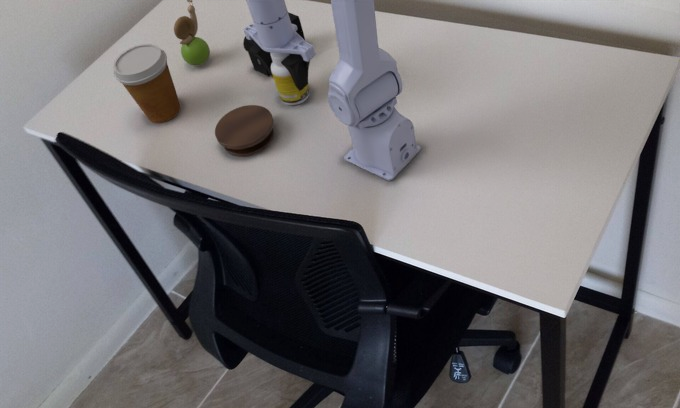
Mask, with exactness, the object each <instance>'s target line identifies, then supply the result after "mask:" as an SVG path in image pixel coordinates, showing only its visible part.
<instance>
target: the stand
mask: <svg viewBox="0 0 680 408" xmlns="http://www.w3.org/2000/svg"><path fill="white" fill-rule="evenodd" d="M274 126H275V121H274V117H273V114H272V113H271V111H270V110H269V108H266V107H264V106H262V105H257V104H248V105H242V106H239V107H236V108H234V109H232V110H229V111H228V112H227V113H225V114H224V115H223V116H222V117H220V119H219V120H218V121H217V124H216V125H215V127H214V136H215V138H216V140H217V142H218V144H219V145H220V146H222V147H223V149H224V150H225V152H226V153H227V154H229V155H231V156H234V157H238V158H240V157H241V158H242V157H243V158H245V157H250V156H254V155H256V154H259V153H261V152H262V151H264V150H265V149H266V148H268V146H270V145H271V143H272V142H273V140H274V137H275V128H274Z"/></svg>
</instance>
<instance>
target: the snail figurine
mask: <svg viewBox="0 0 680 408" xmlns="http://www.w3.org/2000/svg"><path fill="white" fill-rule="evenodd" d="M186 2H187V3H189V5H188V6H187V12H188V14H189V16H186V15H182V16H179V17H178V18H177V19H176V20H175V22H174V25H173V33H174V36H175V37H176V38H177V39H178V40H180V42H179V44H180V45H181V47H180V54H181V57H182V59H183V60H184V62H185V63H186V64H188V65H191V66H194V67H195V66H196V67H197V66H198V67H199V66H202V65H203V64H205V63H206V62H207V61H208V60H209V57H210V54H211V53H210V46H209V45H208V43H207V42H206V41H205V40H204V39H203V38H202V37H198V36H196V35H197V33H198V30H199V29H198V28H199V26H198V18H197V14H196V8H195V6H194V4H193V0H186ZM191 4H192V5H191Z"/></svg>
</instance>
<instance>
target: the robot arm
mask: <svg viewBox="0 0 680 408" xmlns="http://www.w3.org/2000/svg"><path fill="white" fill-rule="evenodd" d="M245 2H246V5H247V8H248V10H249V14H250V17H251V19H252V22H253V23H250V24H248V25H247V26H246V27H245V28H244V29H243V33H244V35H245V36H246V38H247V39H248V40H252V39H253V40H254V41H255V43H254V45H253V46H252V47H251V48H250V52H251V53H252V54H253V55H255V56H256V57H257V58H258V59H259V60H260V61H261V62H262V63H263V65H264V66H265V67H266V69H267V70H268V72H269V73H270V77H271V78H272V79H273V80H274V78H273V75H272V72H271V64H272V62H273V61H272V58H271V54H270V53H271V52H273V53H289V54H290V55H288V56H287V57H286V58H285V59H284V60H283V61H281V64H282V65H283V66H285V67H286V69H287V70H288V71H289V73H290V74H291V76H292V79H293V81H294V83H295V86H296V87H297V89H299V90H302V89H303V88H304V87H305V86H306V85H307V84H308V85H309V67H310V63H311V60H312V59H313V58H314V57H316V55H317V53H316V51H315V47H314V45H313V44H311V43H308V42H307V41H306V39H305V40H304V39H303V38H302V37H301V36H300V35H299V34H298V33H297V32H295V31H296V30H297V26H296V25H294V24H291V21H290V18H289V14H288V12H289V10H288V8H287V4H286V1H285V0H245ZM330 4H331V5H330V6H331V12H332V18H333V25H334V30H335V31H334V32H335V37H336V42H337V43H336V44H337V49H338V56H339V61H337V64H336V66H335V68H334V69H333V71H332V72H331V74H330V76H329V78H328V84H329V89H328V92H327V102H328V105H329V108H330V110H331V111H332V113H333V115H334V116H335V117H336V118H337V119H338V121H340V122H341V123H342V124H344V125H345V126H347V128H348V132H349V136H350V140H351V144H352V148H351V149H350V150H349V151H348V152H347V153H346V154H345V155H344V156H343V159H344V161H346V162H347V163H349V164H352V165H354V166H356V167H358V168H360V169H363V170H365V171H367V172H368V173H371V174H373V175H376V176H377V177H380V178H382V179H384V180H387V181H388V182H390V181H393V180H394V179H395V177H397V176H398V174H400V172H401V171H402V170H403V169H404V168H405V167H406V166H407V165H408V164H409V163H410V162H411V161H412V160H413V158H415V156H416V155H417V154H419V152H421V146H420V145H418V144H417V141H416V134H415V128H414V127H415V126H414V124H413V121H412V120H411V119H409V118H408V117H405V116H404V115H403V114H401V113H400V111H398V110H397V108H396V107H395V106H396V105H397V104H398V100H397V97H398V96H400V95H401V93H402V91H403V80H402V76H401V73H400V72H399V70H398V66H397V60H396V59H395V58H394V57H393V56H392V55H391V54H390V53H389V52H387V51H386V50H384V49H383V48H380V47H379V40H378V29H377V17H376V8H375V0H330ZM245 36H244V37H245Z"/></svg>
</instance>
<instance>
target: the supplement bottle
mask: <svg viewBox="0 0 680 408" xmlns="http://www.w3.org/2000/svg"><path fill="white" fill-rule="evenodd" d="M270 54H271V58H272V61H273V62H272V64H271V72H272V75H273V77H272V79H273V78H274V79H273V81H274V85H275V87H276V90H277V94H278V96H279V99H280V101H281V103H282V104H284V105H286V106H296V105H300V104H303V103H304V102H305V101H307V99H308V98H309V97H310V88H309V83H308V84H307V85H306V86H305V87H304V88H303V89H302V90H299V89H297V87H296V86H295V83H294V81H293V79H292V76H291V74H290V73H289V71H288V70H287V69H286V67H285V66H283V65H282V64H281V61H283V60H284V59H285V58H286V57H287V56H288V55H290V54H289V53H273V52H271V53H270Z"/></svg>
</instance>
